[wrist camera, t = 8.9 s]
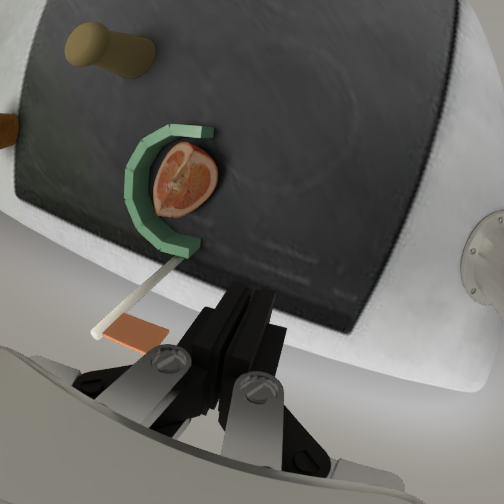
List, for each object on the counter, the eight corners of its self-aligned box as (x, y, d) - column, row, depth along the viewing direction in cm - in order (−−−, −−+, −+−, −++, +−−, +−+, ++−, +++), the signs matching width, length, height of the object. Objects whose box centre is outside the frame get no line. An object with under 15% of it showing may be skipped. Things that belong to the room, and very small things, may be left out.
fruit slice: (196, 220, 34) (177, 233, 29) (155, 188, 33) (132, 196, 29) (235, 163, 30) (220, 168, 26) (189, 130, 30) (167, 130, 25)
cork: (157, 32, 26) (101, 7, 16) (153, 75, 28) (92, 60, 18) (120, 42, 27) (61, 26, 17) (115, 82, 29) (53, 75, 19)
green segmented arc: (242, 131, 29) (148, 124, 12) (223, 264, 35) (148, 363, 19) (146, 122, 30) (22, 128, 14) (139, 242, 37) (41, 309, 21)
